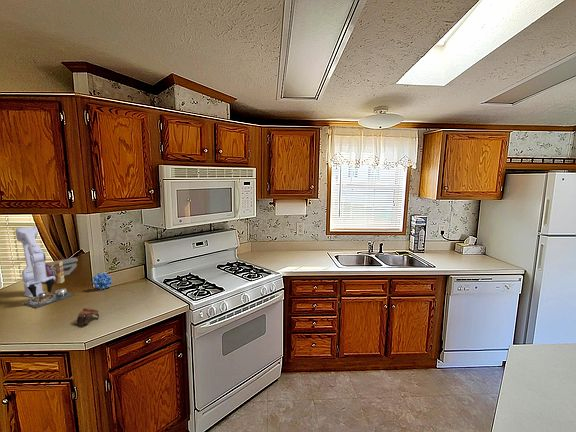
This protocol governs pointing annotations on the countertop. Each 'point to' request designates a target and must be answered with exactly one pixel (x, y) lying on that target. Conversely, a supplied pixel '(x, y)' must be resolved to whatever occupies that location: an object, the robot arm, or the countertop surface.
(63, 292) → the gear carrier
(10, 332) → the countertop surface
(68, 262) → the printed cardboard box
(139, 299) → the countertop surface
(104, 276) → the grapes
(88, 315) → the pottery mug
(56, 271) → the candy box
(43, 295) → the planet gear
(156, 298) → the countertop surface
